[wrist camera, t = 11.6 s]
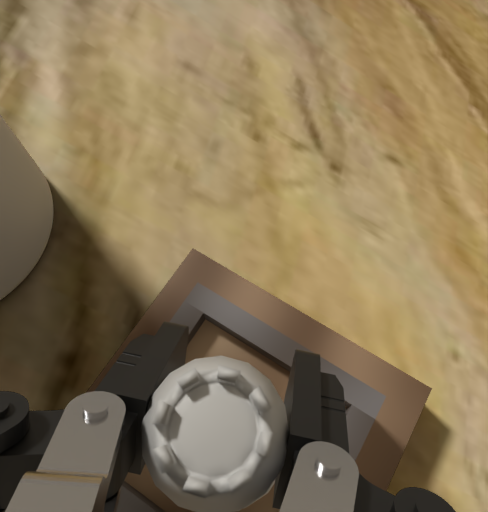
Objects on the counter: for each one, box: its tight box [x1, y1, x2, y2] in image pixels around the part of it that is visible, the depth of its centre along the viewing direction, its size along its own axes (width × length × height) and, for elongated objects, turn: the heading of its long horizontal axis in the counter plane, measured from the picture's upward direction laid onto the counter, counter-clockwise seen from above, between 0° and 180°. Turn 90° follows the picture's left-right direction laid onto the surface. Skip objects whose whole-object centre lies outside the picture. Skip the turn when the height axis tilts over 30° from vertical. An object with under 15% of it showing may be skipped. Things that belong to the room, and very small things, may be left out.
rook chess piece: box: [141, 356, 289, 512], centre depth 13 cm, size 4×4×8 cm
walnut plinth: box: [86, 249, 432, 512], centre depth 20 cm, size 14×14×6 cm
